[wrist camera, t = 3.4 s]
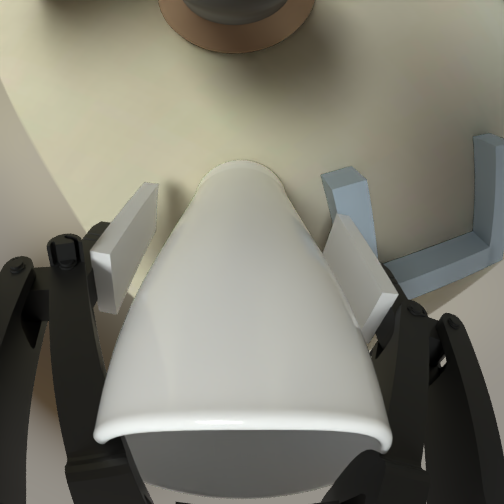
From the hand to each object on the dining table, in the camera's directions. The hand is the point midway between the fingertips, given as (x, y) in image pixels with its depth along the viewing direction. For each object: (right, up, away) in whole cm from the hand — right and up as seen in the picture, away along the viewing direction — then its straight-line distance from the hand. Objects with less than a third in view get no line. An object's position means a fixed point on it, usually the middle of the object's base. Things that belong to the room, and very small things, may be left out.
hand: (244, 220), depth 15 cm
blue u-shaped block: (+13, +1, +3) cm, 13 cm away
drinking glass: (0, +2, +2) cm, 3 cm away
